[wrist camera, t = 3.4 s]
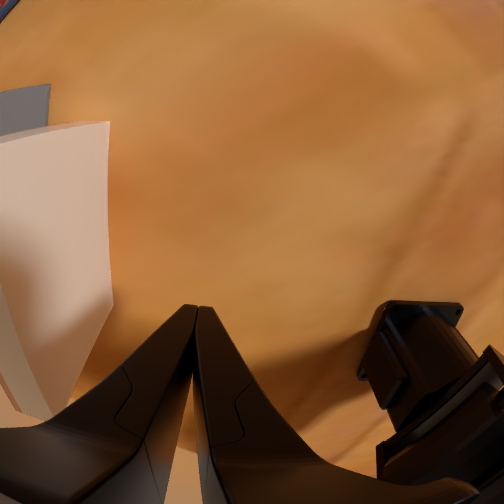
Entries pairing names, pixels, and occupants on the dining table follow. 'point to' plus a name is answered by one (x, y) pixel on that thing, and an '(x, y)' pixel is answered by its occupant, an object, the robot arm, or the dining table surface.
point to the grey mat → (24, 108)
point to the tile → (52, 260)
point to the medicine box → (6, 7)
